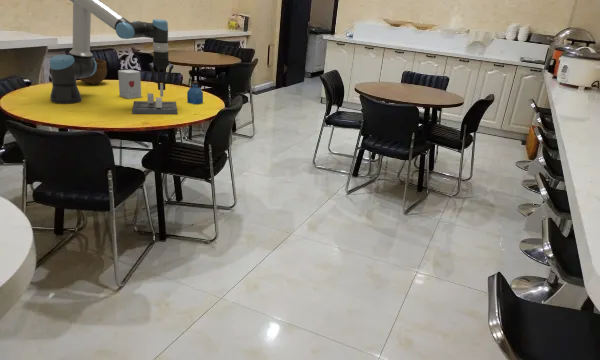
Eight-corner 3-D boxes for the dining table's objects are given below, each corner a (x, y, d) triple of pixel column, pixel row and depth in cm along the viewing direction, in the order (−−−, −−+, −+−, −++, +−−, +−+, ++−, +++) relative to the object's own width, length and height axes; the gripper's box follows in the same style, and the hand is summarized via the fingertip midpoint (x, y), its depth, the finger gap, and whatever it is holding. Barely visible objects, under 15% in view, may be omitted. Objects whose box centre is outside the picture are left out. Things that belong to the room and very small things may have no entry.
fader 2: (155, 107, 235) (155, 99, 234) (156, 105, 240) (155, 97, 238) (162, 107, 236) (161, 99, 235) (162, 105, 241) (161, 97, 239)
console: (132, 113, 232) (132, 109, 231) (134, 105, 248) (133, 100, 247) (177, 114, 238) (177, 109, 237) (176, 105, 255) (175, 101, 254)
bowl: (101, 87, 285) (99, 63, 279) (70, 85, 284) (68, 61, 279) (113, 82, 302) (111, 59, 297) (84, 80, 302) (82, 57, 296)
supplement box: (128, 99, 262) (126, 72, 256) (119, 96, 267) (117, 70, 261) (142, 97, 269) (140, 71, 263) (132, 94, 273) (131, 69, 268)
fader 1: (147, 103, 243) (147, 94, 241) (147, 101, 248) (147, 93, 246) (153, 103, 244) (153, 95, 242) (153, 101, 248) (153, 93, 247)
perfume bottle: (195, 104, 261) (195, 83, 257) (187, 102, 264) (187, 81, 260) (202, 103, 266) (202, 82, 262) (195, 101, 269) (194, 80, 265)
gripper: (147, 51, 232) (148, 97, 241) (174, 52, 236) (174, 97, 245) (147, 49, 239) (149, 94, 248) (173, 50, 243) (174, 94, 252)
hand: (161, 96), depth 246 cm, fingers closed
